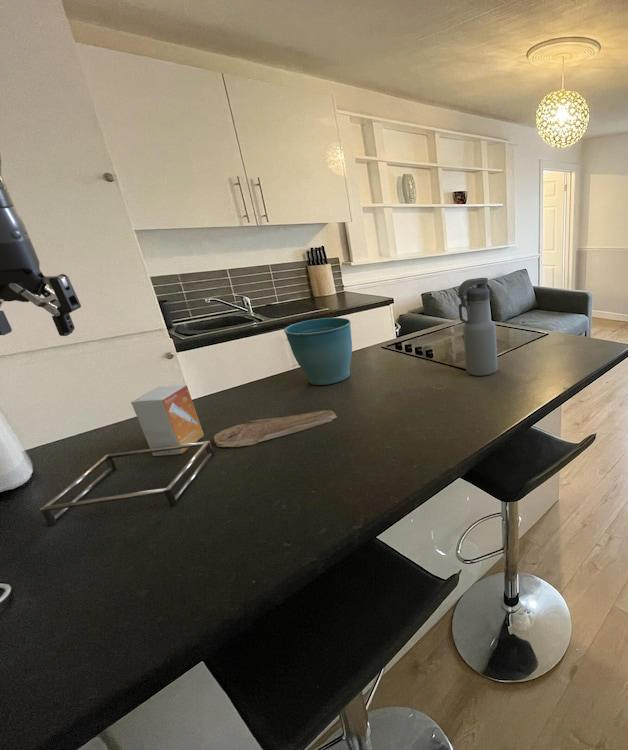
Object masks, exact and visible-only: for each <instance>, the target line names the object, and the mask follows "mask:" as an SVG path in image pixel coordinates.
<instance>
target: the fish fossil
mask: <svg viewBox="0 0 628 750" xmlns="http://www.w3.org/2000/svg"><path fill="white" fill-rule="evenodd" d="M335 419H338V416H337V415H336V413H335V412H333V411H332V410H330V409H329V410H328V409H327V410H320V411H318V410H317V411H312V412H307V413H301V414H295V415H288V416H280V417H271V418H263V419H256V420H250V421H249V422H246V423H243V424H242V423H240V424H236V425H233V426H230V427H228V428H225V429H224V430H221V431H219V432H218V433H215V435H214V436H213V442H214V444H215V446H216V447H217V448H240V447H246V446H247V447H248V446H253V445H257V444H259V443H260V442H261V443H262V442H264V441H269V440H272V439H276V438H281V437H283V436H287V435H288V436H289V435H291V434H292V435H293V434H295V433H298V432H301V431H306V430H309V429H312V428H315V427H318V426H322V425H324V424H328V423H330V422H332V421H333V420H335Z"/></svg>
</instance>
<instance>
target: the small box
mask: <svg viewBox="0 0 628 750" xmlns="http://www.w3.org/2000/svg"><path fill="white" fill-rule="evenodd" d="M130 403H131V406H132V408H133V411H134V413H135V415H136V418H137V420H138V423H139V425H140V428H141V430H142V432H143V435H144V438H145V440H146V443H147V445H148V447H149V449H153V448H160V447H168V446H175V445H182V444H190V443H197V442H199V440H200V439H202V438H203V437H204V436H205V434H204V431H203V428H202V425H201V423H200V422H201V421H200V419H199V417H198V414H197V411H196V407H195V405H194V401H193V399H192V397H191V393H190V391H189V387H188V385H187V384H184V385H183V384H181V385H162V386H157V387H156V388H153V389H152V390H150V391H148V392H146V393H144V394H142V395H141V396H139V397H138V398H135V399H134V400H132V401H131V402H130ZM190 448H191V447H189V448H182V449H174V450H167V451H160V452H152V453H151V454H152V456H153V457H159V456H175V455H182V454H184V453H185V452H186V451H188V449H190Z"/></svg>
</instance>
